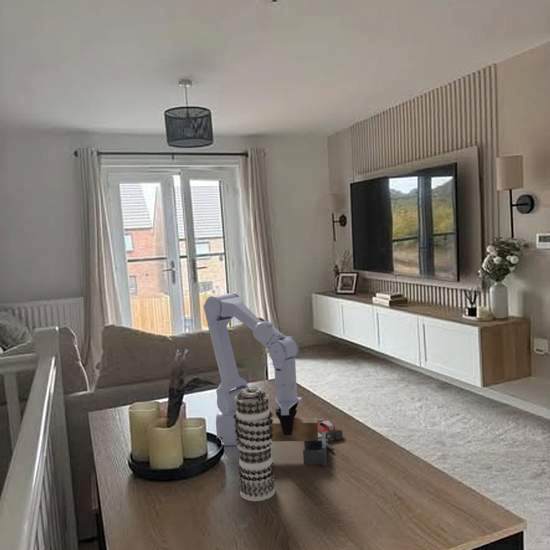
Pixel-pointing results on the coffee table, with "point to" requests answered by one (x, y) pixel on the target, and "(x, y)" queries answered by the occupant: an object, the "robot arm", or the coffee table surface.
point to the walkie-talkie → (328, 431)
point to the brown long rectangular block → (296, 430)
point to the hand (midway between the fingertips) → (288, 431)
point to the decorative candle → (254, 444)
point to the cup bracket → (315, 451)
